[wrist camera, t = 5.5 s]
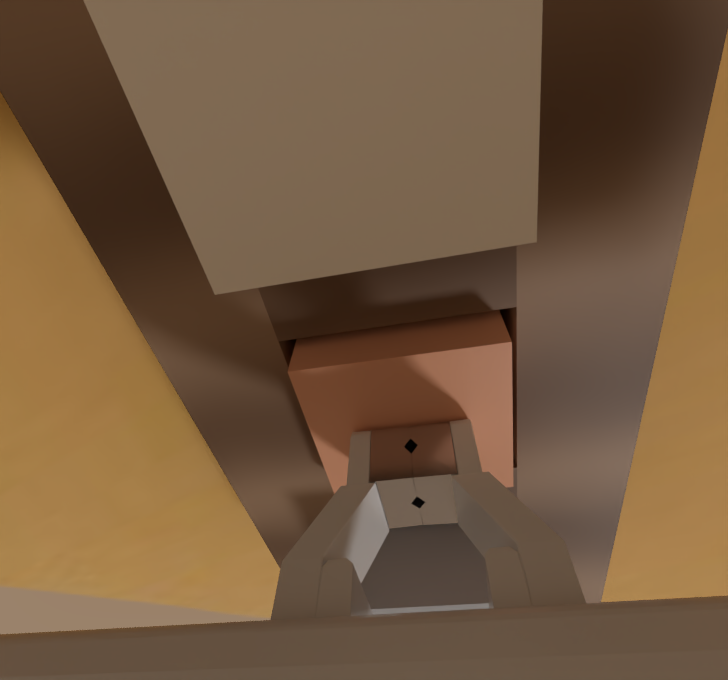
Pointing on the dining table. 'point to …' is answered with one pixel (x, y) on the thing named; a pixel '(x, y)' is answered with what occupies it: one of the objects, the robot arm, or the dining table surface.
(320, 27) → the cream key
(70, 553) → the dining table surface
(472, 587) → the slate key
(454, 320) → the terracotta key
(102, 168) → the key panel
